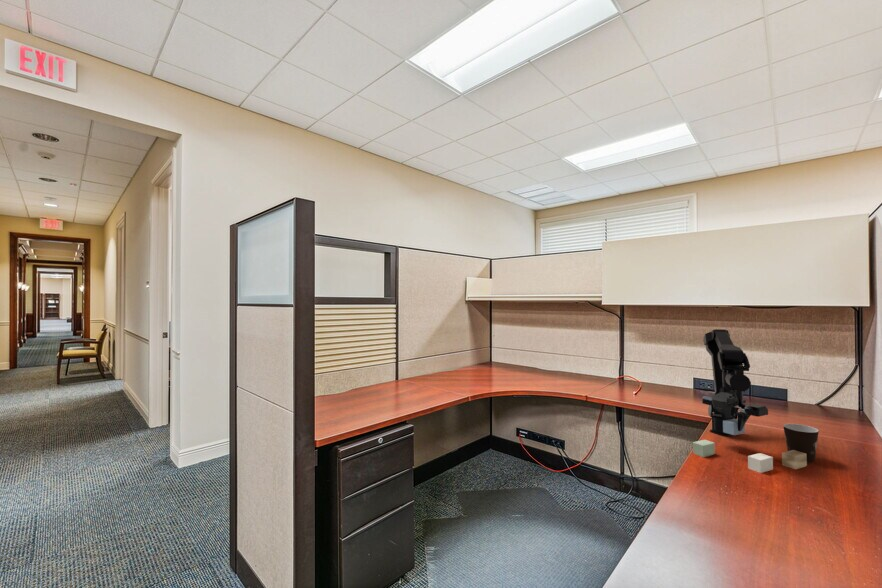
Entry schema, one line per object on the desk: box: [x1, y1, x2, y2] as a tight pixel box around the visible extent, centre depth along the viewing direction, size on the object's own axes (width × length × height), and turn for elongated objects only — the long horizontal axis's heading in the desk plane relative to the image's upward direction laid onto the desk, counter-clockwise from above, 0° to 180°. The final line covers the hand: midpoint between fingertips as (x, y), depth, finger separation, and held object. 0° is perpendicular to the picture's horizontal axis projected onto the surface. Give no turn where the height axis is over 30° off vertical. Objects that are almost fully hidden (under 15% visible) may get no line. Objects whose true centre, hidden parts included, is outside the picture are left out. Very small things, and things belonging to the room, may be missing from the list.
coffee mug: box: [782, 423, 820, 463], centre depth 130 cm, size 12×9×10 cm
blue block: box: [723, 419, 746, 436], centre depth 137 cm, size 4×6×4 cm, turn 112°
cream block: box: [747, 452, 774, 474], centre depth 122 cm, size 4×6×4 cm, turn 111°
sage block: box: [692, 439, 716, 458], centre depth 134 cm, size 4×6×4 cm, turn 112°
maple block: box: [781, 450, 808, 470], centre depth 124 cm, size 4×6×4 cm, turn 111°
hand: (733, 429), depth 137 cm, fingers closed on blue block, 3 cm apart
